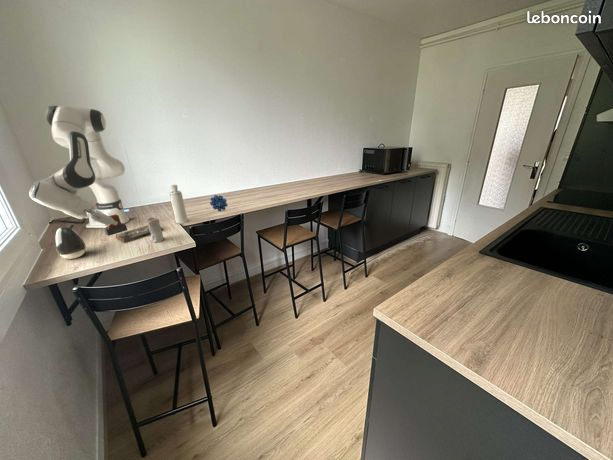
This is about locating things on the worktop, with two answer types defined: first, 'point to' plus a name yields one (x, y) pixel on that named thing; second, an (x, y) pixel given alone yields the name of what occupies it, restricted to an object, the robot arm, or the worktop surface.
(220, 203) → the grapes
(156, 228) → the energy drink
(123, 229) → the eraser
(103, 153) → the robot arm
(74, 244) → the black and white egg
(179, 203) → the white bottle
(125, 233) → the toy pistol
